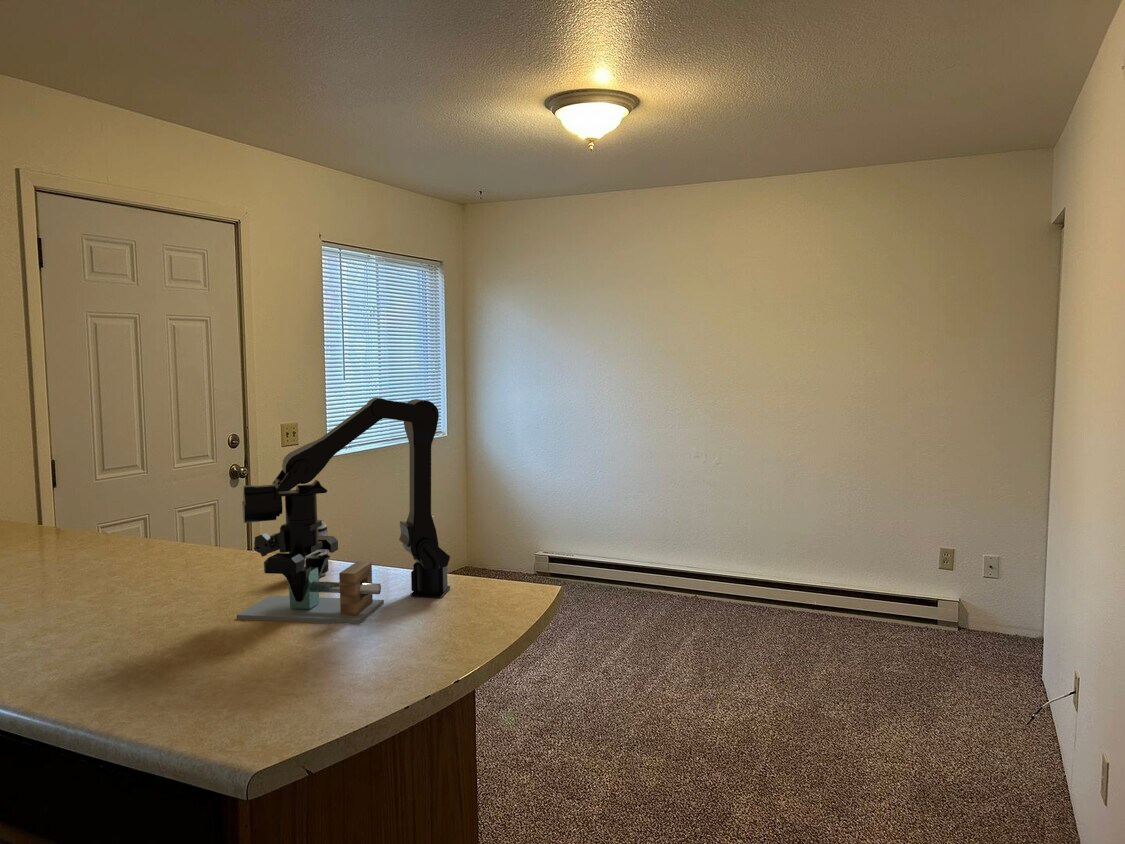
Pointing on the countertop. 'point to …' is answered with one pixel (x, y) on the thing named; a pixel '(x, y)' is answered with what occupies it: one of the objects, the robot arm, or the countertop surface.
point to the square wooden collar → (354, 588)
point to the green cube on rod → (325, 590)
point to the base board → (305, 611)
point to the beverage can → (323, 532)
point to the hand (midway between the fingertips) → (304, 598)
